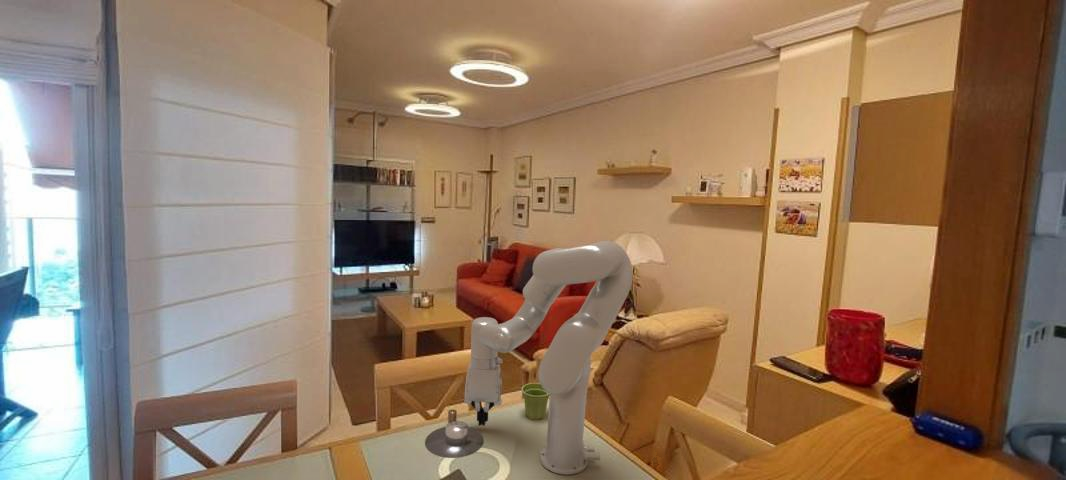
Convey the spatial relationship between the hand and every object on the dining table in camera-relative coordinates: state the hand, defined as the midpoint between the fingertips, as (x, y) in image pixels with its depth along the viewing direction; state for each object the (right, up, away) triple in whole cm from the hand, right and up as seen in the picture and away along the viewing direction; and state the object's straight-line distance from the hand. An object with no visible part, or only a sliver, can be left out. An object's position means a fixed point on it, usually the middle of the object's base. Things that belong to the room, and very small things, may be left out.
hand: (482, 423), depth 131 cm
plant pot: (+15, -3, +13) cm, 20 cm away
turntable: (-7, -4, -6) cm, 10 cm away
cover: (-7, -3, -5) cm, 9 cm away
